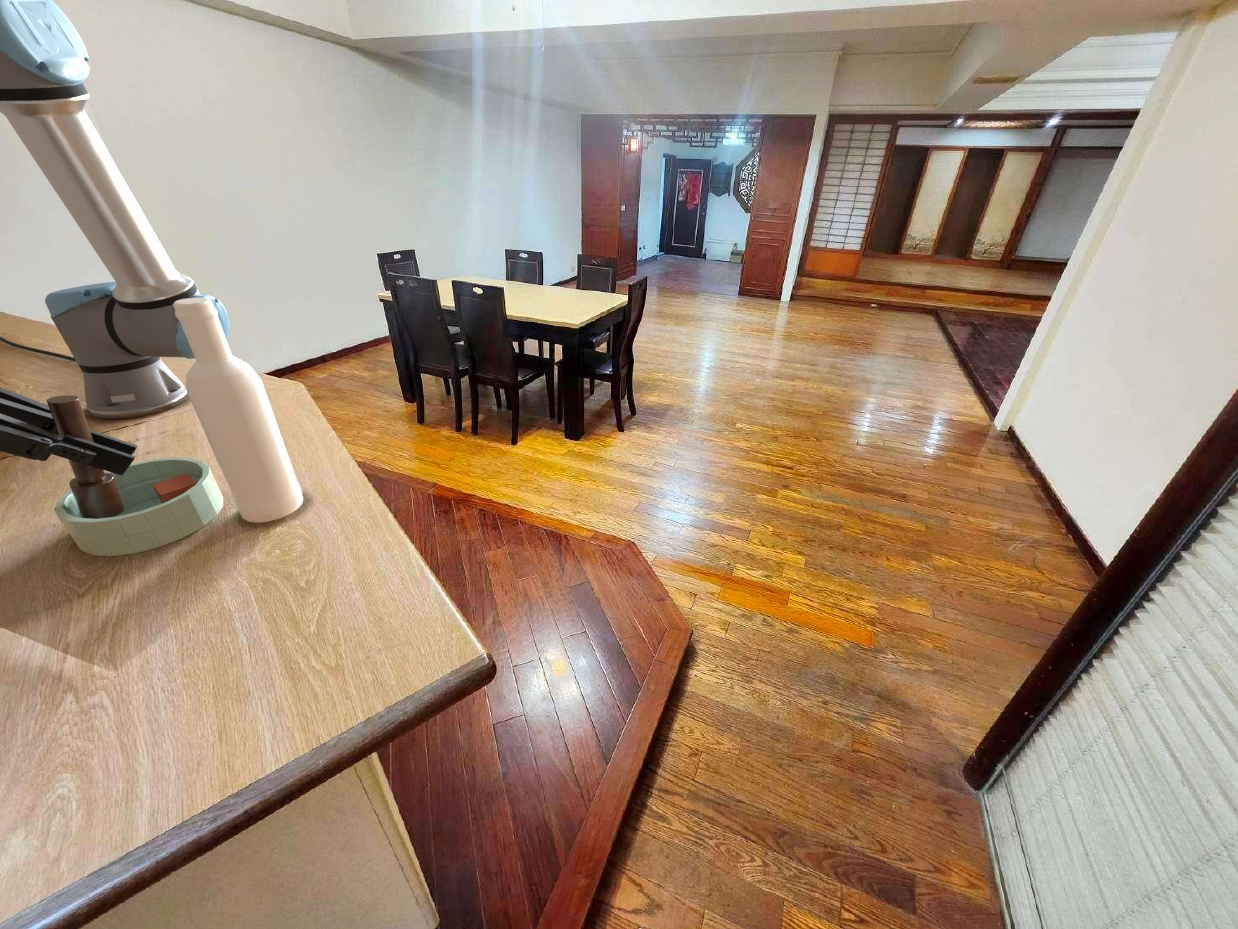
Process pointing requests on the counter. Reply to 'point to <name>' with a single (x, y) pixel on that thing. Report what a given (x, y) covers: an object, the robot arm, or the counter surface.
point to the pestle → (90, 483)
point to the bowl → (146, 509)
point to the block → (173, 487)
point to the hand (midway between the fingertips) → (129, 460)
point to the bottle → (237, 419)
